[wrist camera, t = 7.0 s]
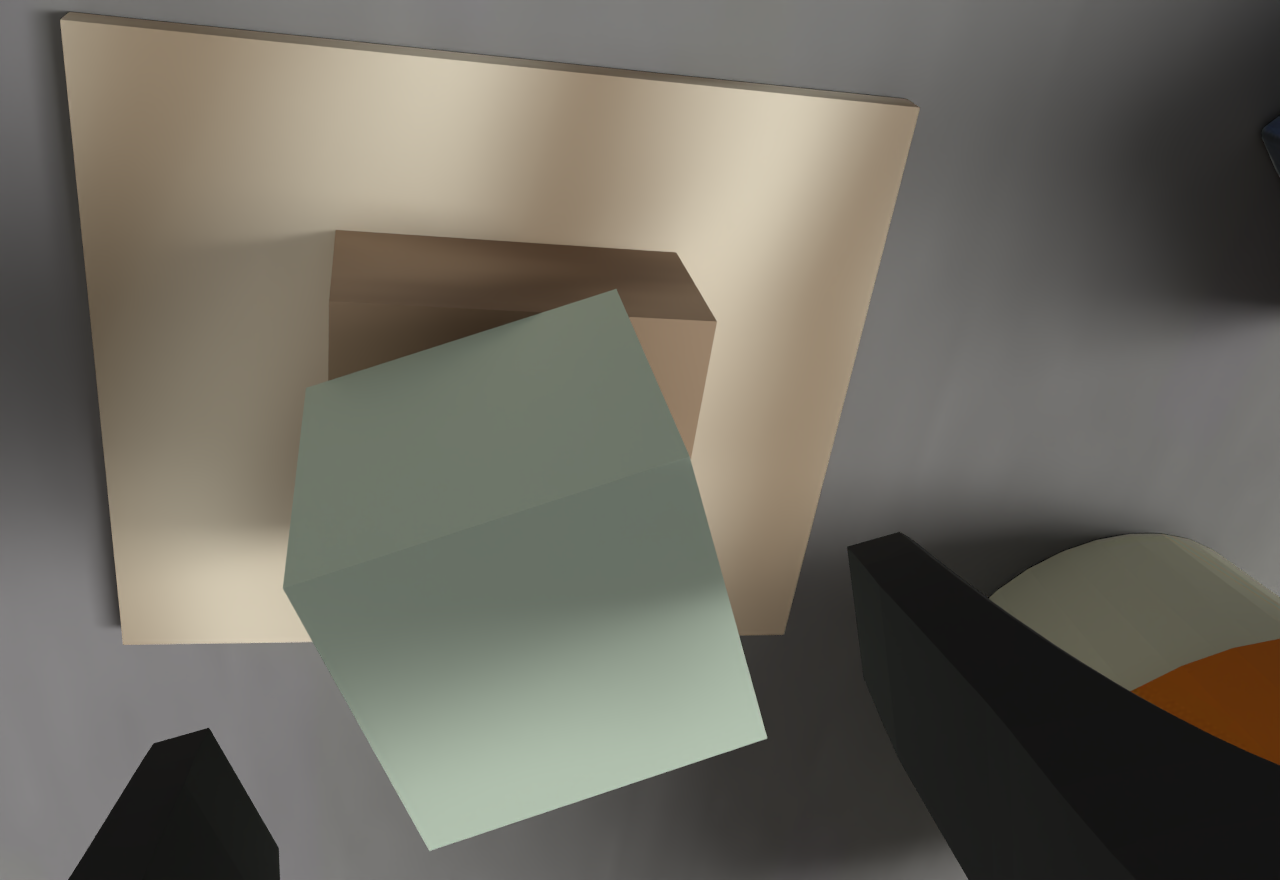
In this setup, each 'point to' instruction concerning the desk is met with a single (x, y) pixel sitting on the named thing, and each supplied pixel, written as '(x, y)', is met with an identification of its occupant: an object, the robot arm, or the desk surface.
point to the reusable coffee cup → (1164, 629)
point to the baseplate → (439, 159)
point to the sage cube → (515, 572)
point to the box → (1273, 142)
